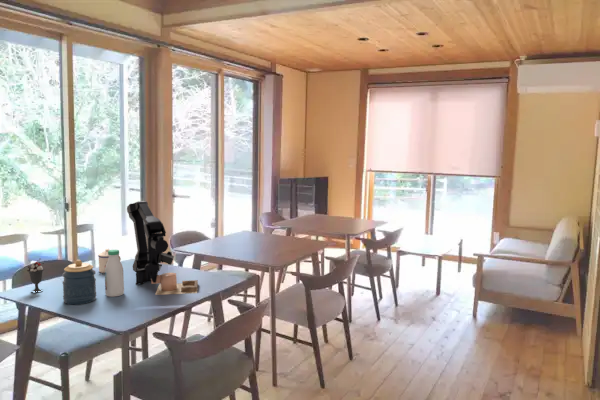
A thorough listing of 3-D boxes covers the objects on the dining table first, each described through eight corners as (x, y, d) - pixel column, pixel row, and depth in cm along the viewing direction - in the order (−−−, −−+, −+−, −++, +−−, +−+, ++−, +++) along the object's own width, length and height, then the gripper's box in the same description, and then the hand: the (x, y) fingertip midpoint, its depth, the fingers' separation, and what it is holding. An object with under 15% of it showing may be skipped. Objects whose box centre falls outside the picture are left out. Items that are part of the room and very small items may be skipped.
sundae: (48, 290, 218) (47, 258, 216) (35, 294, 211) (33, 261, 210) (38, 288, 220) (37, 256, 218) (25, 292, 214) (23, 259, 212)
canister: (75, 307, 196) (73, 265, 194) (56, 301, 203) (55, 260, 201) (103, 298, 207) (101, 259, 205) (84, 293, 214) (83, 254, 212)
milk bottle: (127, 292, 216) (126, 249, 213) (116, 298, 209) (114, 253, 206) (113, 290, 218) (112, 247, 216) (101, 295, 211) (100, 251, 209)
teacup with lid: (105, 274, 245) (104, 252, 244) (95, 271, 250) (94, 249, 249) (125, 269, 255) (125, 248, 254) (115, 266, 260) (114, 245, 259)
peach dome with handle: (177, 285, 224) (176, 272, 223) (176, 290, 217) (175, 276, 216) (153, 287, 222) (152, 273, 221) (151, 292, 215) (150, 278, 214)
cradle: (155, 296, 211) (155, 290, 211) (159, 286, 226) (158, 280, 226) (196, 295, 214) (196, 288, 214) (197, 284, 230) (197, 278, 229)
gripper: (170, 252, 208) (171, 287, 210) (174, 243, 227) (174, 275, 229) (144, 253, 206) (145, 288, 208) (149, 244, 225) (150, 276, 227)
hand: (154, 281), depth 218 cm, fingers closed on peach dome with handle
